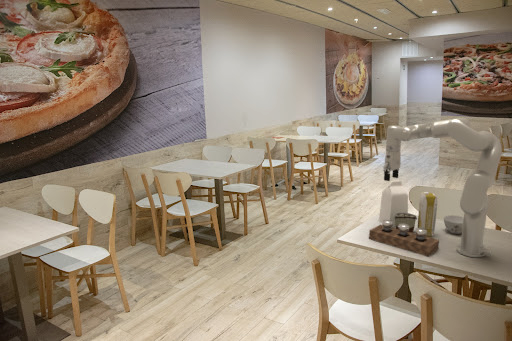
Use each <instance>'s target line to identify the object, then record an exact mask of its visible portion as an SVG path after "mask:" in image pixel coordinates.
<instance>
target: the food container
mask: <svg viewBox="0 0 512 341" xmlns="http://www.w3.org/2000/svg"><path fill="white" fill-rule="evenodd" d="M394 219H395V227H394V228H396V229H398V227H399V224H408V225H409V231H408V232H411V233H414V231H415V226H416V222H417V221H418V216H417V215H416V214H413V213H409V212H408V213H397V214H395V216H394Z"/></svg>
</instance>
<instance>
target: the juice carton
mask: <svg viewBox="0 0 512 341" xmlns="http://www.w3.org/2000/svg"><path fill="white" fill-rule="evenodd" d="M437 210H438V196H436V195H435V194H434V192H428V191H424V192H421V193H420V196H419V203H418V214H417V215H418V216H417V228H424V229H426V230H427V235H426V237H430V238H433V237H434V235H435V230H436V220H437Z"/></svg>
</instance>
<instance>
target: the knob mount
mask: <svg viewBox="0 0 512 341" xmlns="http://www.w3.org/2000/svg"><path fill="white" fill-rule="evenodd" d="M368 239H369V240H371V241H375V242H378V243H382V244H385V245H388V246H391V247H392V246H393V247H395V248H399V249H402V250H405V251H407V252H408V251H409V252H411V253H416V254H419V255H422V256H426V257H430V256H431V255H432V254H434V253H435V252H437V251H438V250H439V245H440V239H437V238H433V237H431V236H425V241H424V242H420V241H417V240H416V234H415V232H413V233H411V232H408V233H407V237H402V236H399V230H398V229H396V227H391V232H390V233H387V232H384V231H383V226H382V224H379V225H377V226H374V227H373V228H371V229H369V234H368Z"/></svg>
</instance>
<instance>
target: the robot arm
mask: <svg viewBox="0 0 512 341" xmlns="http://www.w3.org/2000/svg"><path fill="white" fill-rule="evenodd" d="M426 138H427V139H428V138H432V139H442V138H451V139H453V140H454V141H456V142H457V143H459V144H460V145H461V146H463V147H464V148H466V149H468V150H470V151H471V152H476V153H477V152H478V153H479V152H480V155H479V157H478V160H477V164H476V167H475V170H474V171H473V172H472V173H471V174H470V175H469V176H468V177H467V178H466V180H465V182H464V187H463V189H462V192H461V193H462V194H461V197H460V199H459V208H460V209H461V210H462V212H463V213H464V214H463V217H464V219H463V227H462V232H461V236H460V244H459V245H458V246H457V247H456V252H457V253H459V254H460V255H463V256H465V257H469V258H482V257H485V256H486V255H489V256H491V255H492V254H493V252H492V250H491V249H490V248H486V247H485V244H484V236H485V229H486V222H487V214H488V210H489V206H490V197H489V195H488V194H487V192H488V190H489V189H490V188H491V187H492V186H493V185H494V183H495V182H494V181H495V178H496V175H497V171H498V168H499V164H500V160H501V157H502V151H503V150H502V143H501V142H500V139H499V138H498V136H496V135H495V134H494V133H492V132H490V131H487V130H481V131H476V130H475V129H473V128H472V127H471V123H470V121H469V119H467V118H465V117H457V118H450V119H443V120H436V121H435V120H434V121H431V122H427V123H420V124H413V125H407V126H400V125H394V124H393V125H388V127H386V141H385V142H386V143H385V159H384V164H383V167H382V168H383V181H386V182H391V176H392V178H394V179H399V171H400V168H401V161H402V160H401V159H402V157H401V156H402V155H401V147H402V142H409V141H414V140H419V139H420V140H421V139H426ZM391 171H392V175H391Z"/></svg>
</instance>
